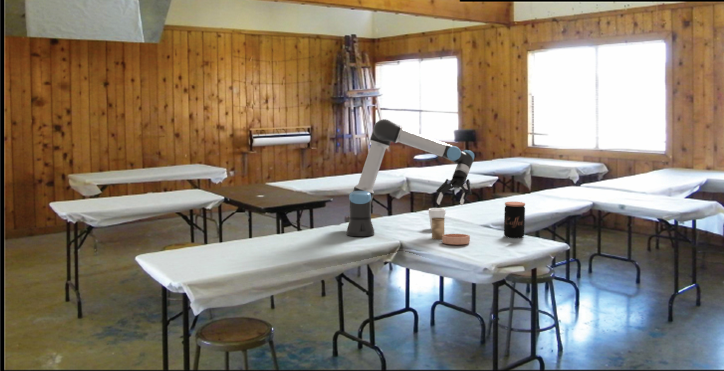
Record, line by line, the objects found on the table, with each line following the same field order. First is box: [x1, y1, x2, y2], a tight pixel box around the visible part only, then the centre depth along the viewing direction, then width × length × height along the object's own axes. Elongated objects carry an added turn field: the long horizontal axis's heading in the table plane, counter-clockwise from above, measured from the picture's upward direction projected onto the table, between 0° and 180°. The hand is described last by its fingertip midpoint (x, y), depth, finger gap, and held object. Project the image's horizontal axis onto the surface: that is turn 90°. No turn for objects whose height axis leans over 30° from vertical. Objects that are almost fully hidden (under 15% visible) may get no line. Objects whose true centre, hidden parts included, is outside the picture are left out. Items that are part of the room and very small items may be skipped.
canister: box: [431, 217, 446, 241], centre depth 351 cm, size 7×7×11 cm
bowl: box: [441, 233, 471, 246], centre depth 339 cm, size 14×14×4 cm
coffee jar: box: [503, 201, 526, 239], centre depth 358 cm, size 11×11×18 cm
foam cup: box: [428, 207, 447, 230], centre depth 379 cm, size 10×9×13 cm
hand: (449, 203), depth 360 cm, fingers open, 13 cm apart
